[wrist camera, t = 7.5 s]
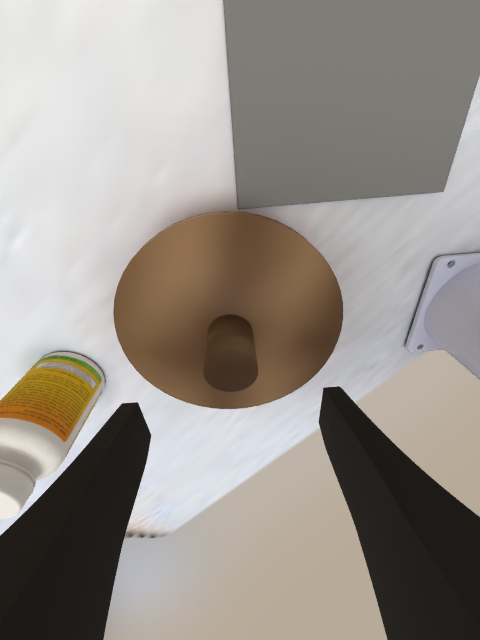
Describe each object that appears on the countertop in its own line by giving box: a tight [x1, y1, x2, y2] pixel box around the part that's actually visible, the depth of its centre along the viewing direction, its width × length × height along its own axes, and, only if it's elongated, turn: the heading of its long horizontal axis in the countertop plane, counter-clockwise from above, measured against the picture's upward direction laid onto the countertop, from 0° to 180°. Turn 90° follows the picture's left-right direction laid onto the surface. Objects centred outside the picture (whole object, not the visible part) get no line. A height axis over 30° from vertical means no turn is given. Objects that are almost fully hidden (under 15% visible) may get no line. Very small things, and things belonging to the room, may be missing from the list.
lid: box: [114, 211, 343, 409], centre depth 13 cm, size 12×12×4 cm
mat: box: [224, 0, 480, 209], centre depth 12 cm, size 12×12×1 cm
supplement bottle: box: [0, 352, 105, 519], centre depth 18 cm, size 5×5×10 cm
